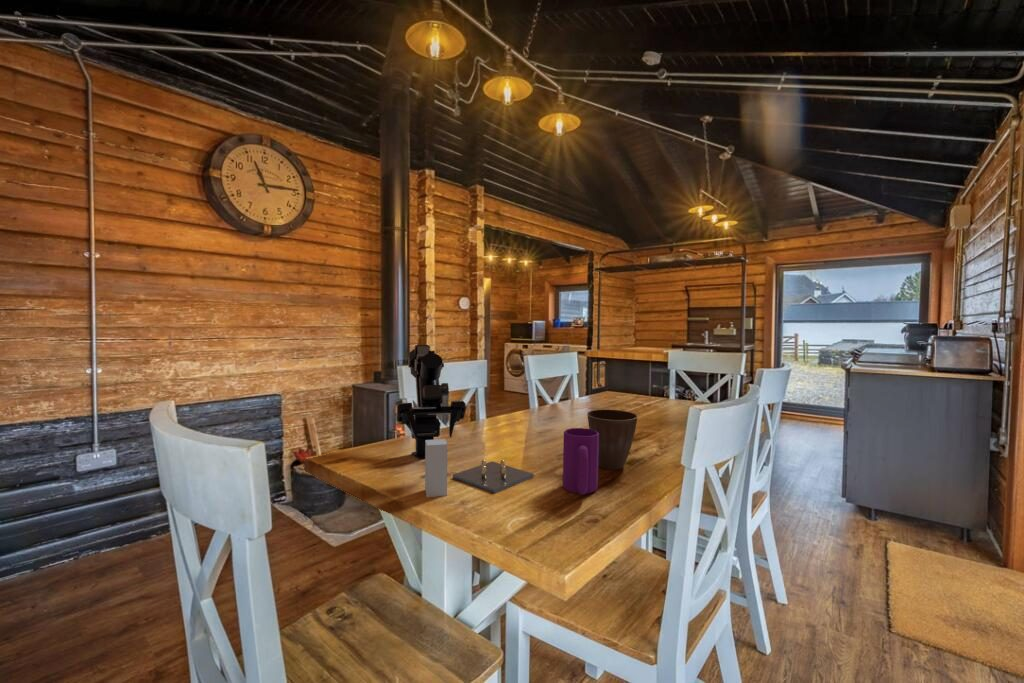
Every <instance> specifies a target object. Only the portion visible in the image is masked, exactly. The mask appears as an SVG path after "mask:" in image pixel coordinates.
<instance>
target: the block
mask: <svg viewBox="0 0 1024 683" xmlns="http://www.w3.org/2000/svg"><path fill="white" fill-rule="evenodd" d="M424 491H425V495H426V498H434V497H444V496H448V442H447V440H446V439H445V438H438V439H435V438H434V440H425V458H424Z"/></svg>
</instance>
